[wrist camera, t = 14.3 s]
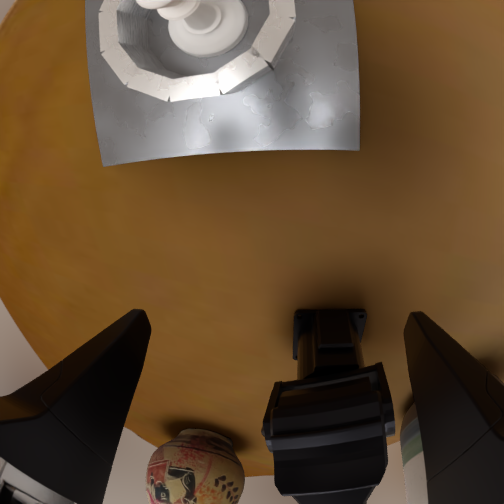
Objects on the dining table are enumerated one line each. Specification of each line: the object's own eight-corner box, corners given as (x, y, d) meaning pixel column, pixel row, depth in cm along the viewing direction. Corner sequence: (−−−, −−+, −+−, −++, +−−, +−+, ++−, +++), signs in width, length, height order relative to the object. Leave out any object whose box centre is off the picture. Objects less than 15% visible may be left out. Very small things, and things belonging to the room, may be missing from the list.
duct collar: (356, 147, 18) (376, 166, 14) (109, 163, 21) (72, 185, 16) (335, -80, 9) (345, -113, 5) (93, -38, 12) (56, -52, 7)
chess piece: (171, -5, 13) (81, -54, 5) (248, -13, 13) (210, -92, 4) (170, 61, 16) (71, 51, 7) (248, 56, 15) (205, 22, 7)
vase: (496, 338, 26) (555, 507, 5) (497, 390, 32) (530, 512, 11) (379, 397, 32) (393, 573, 12) (409, 433, 38) (421, 557, 18)
